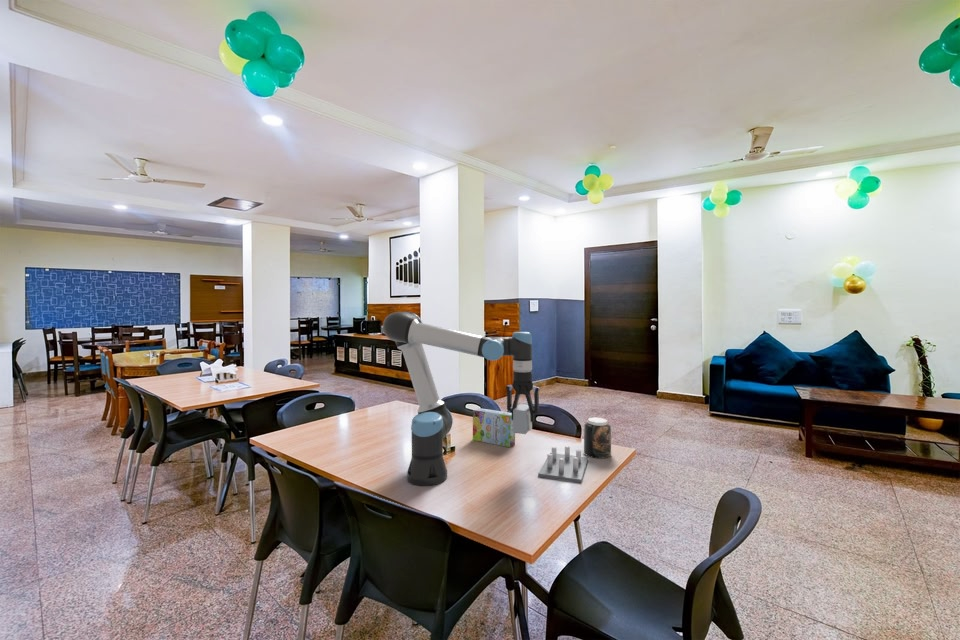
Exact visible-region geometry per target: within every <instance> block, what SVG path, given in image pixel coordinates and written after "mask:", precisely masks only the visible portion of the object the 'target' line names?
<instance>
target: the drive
mask: <svg viewBox="0 0 960 640" xmlns="http://www.w3.org/2000/svg"><path fill="white" fill-rule="evenodd" d="M529 413H530V410H529V406H528V404H523V403H522V404H518V405H517V407H516V408H515V409H514V410H513V433H515V434H519V435H520V434H521V435H527V434H528V433H529V432H530V431H529V430H528V414H529Z"/></svg>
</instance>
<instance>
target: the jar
mask: <svg viewBox="0 0 960 640" xmlns="http://www.w3.org/2000/svg"><path fill="white" fill-rule="evenodd" d="M583 428H584V429H583V453H584V454H585V455H586V454H587V456H588V455H589V456H588V457H591V456H592V457H591V458H595V457H597V458H596V459H607V457H608V458H610V457H611V455H612V428H611V425H610V424H608V420H607V419H606V418H603V417H596V416H595V417H589V418H588V419H587V422H585V423H584V427H583Z"/></svg>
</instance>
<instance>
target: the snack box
mask: <svg viewBox="0 0 960 640" xmlns="http://www.w3.org/2000/svg"><path fill="white" fill-rule="evenodd" d="M472 440H473V441H478V442H481V443H487V444H492V445H496V446H497V445H498V446H501V447H502V446H503V447H506V448H511V447H513V446H515V444H516V433H513V420H512V412H510V411H507V412H506V411H502V410H494V409H489V408H488V409H486V408H480V407H478V408H475V409H473V410H472Z"/></svg>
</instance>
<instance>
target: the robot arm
mask: <svg viewBox="0 0 960 640" xmlns="http://www.w3.org/2000/svg"><path fill="white" fill-rule="evenodd" d="M382 330H383V333H384V335H385V336H386V337H387V339H389V340H390V341H393V342H395V345H396V348H397V349H398V350H399V351H402V352H401V353H402V354H403V358H404V361H405V364H406V368H407V371H408V373H409V377H410V380H411V383H412V387H413V390H414V393H415V395H416V399H417V402H418V406H419V407H418V409H417V414H416V415H414V416H413V417H412V419H411V425H410V431H411V459H410V463H409V464H408V465H409V466H408V469H407V471H406V480H407V482H409V483H410V484H412V485H416V486H422V487H423V486H425V487H426V486H434V485H438V484H441V483H444V481H446V480H447V479H448V469H447V466H446V463H445V460H444V457H443V456H444V455H443V453H444V452H443V451H444V450H443V448H444V445H443V442H444V439H445V437H446V436H447V435H448V434H449V433H450V431H451V430H452V427H453V423H454V421H453V415H452V413H451V411H450V410H449V409H448V408H447V406H446V403H445V401H444V400H441V399H440V396H439V393H438V390H437V387H436V383H435V381H434V377H433V374H432V372H431V368H430V365H429V361H428V359H427V356H426V352H425V349H424V346H423V345H426V346H431V347H436V348H440V349H445V350H449V351H454V352H459V353H463V354H468V355H470V356H471V355H472V356H476V357H480V358H485V359H486V360H488V361H493V362H494V361H497V360H500V359H501V358H502V357H506V356H507V357H508V356H509V357H512V370H513V372H512V374H513V376H512V384H508V385H506V386H505V389H506V396H507V397H506V410H507V412H510V413H512V420H513V410H514V409H515V408H516V407H517V406H518V405H519V404H518V403H519V399H520V396H521V395H524V396H525V398H526V403H527V405H528V406H529V410H530V413H529V414H528V430H529V431H528V432H530V431H532V429H533V423H534V422H535V414H537V413H539V411H540V399H539V396H540V395H539V394H540V393H539V392H540V389H541V387H540V386H536V385H534V383H533V372H532V370H533V337H532V333H531V332H529V331H514V332H513V333H512V336H507V337H506V336H505V337H504V336H487V337H486V336H482V335H477V334H473V333H468V332H463V331H459V330H454V329H450V328H445V327H442V326H437V325H431V324H427V323H423V321H422V319H421V318H420V317H419V315H417V314H416V313H413V312H412V311H396V312H394V311H393V312H392V313H390V314H388V315H387V316H386V317H385V318H384V321H383V325H382ZM513 389H514V391H515V394H514V399H512V397H513V395H512V394H513ZM532 389H533V390H532ZM531 391H533V392H534V393H533V396H534V397H533V400H534V403H533V400H532V397H531ZM512 400H513V401H512Z"/></svg>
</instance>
